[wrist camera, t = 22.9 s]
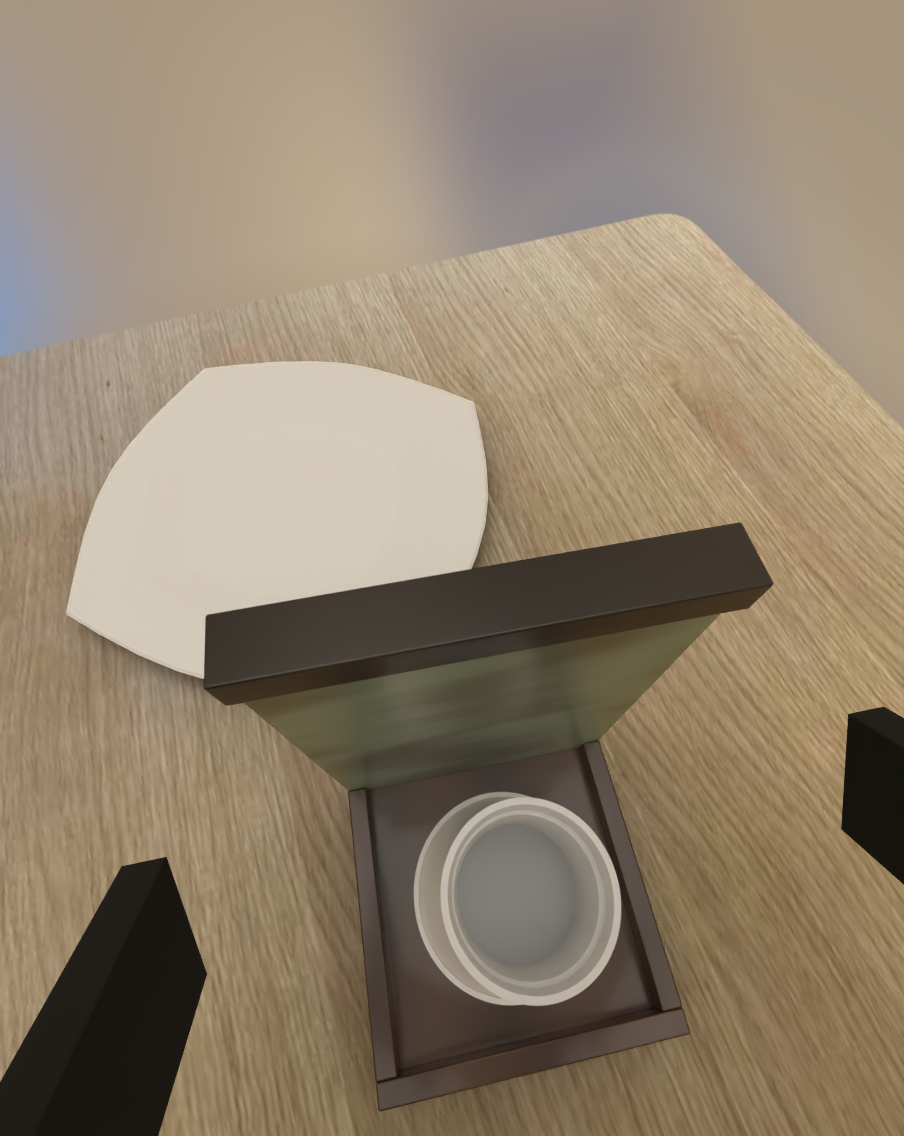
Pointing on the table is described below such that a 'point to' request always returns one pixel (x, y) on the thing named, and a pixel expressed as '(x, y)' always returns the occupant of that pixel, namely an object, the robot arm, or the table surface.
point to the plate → (277, 500)
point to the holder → (484, 763)
